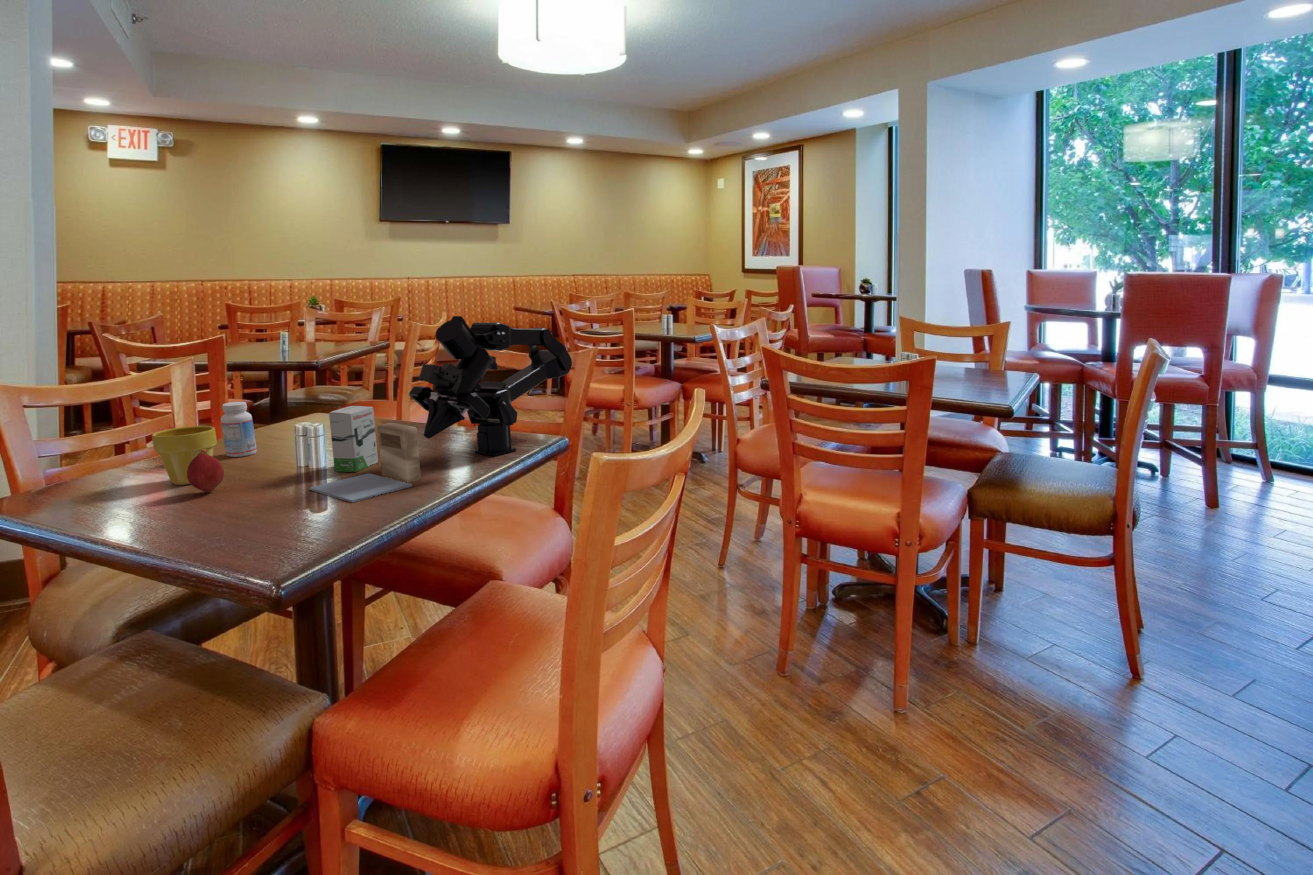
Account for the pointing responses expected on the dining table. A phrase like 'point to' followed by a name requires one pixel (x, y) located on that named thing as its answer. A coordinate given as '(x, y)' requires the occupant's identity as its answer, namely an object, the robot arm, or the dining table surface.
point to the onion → (205, 472)
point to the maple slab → (399, 452)
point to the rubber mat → (360, 487)
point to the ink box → (353, 438)
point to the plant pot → (182, 448)
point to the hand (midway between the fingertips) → (426, 437)
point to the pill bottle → (238, 430)
